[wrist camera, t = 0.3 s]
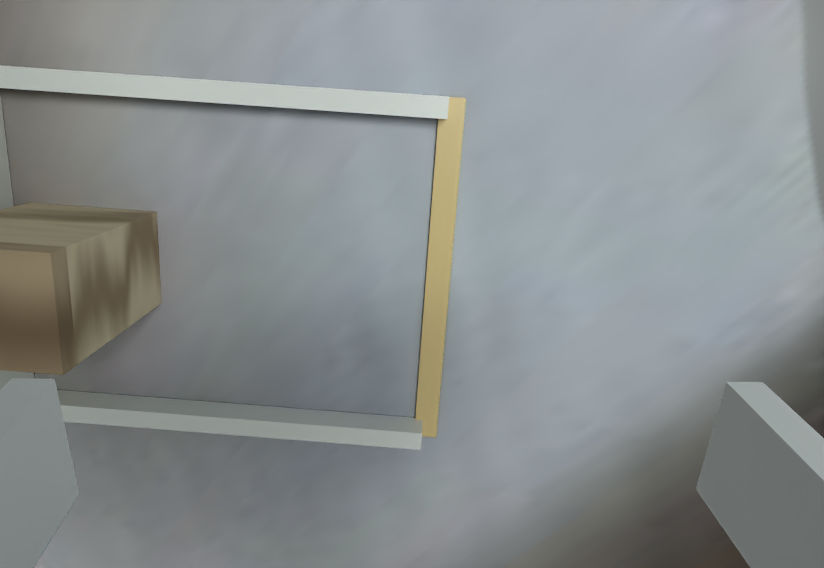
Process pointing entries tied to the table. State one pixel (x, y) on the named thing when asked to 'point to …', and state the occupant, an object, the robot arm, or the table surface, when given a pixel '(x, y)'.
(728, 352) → the table surface
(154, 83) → the bay
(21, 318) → the tan cardboard box
